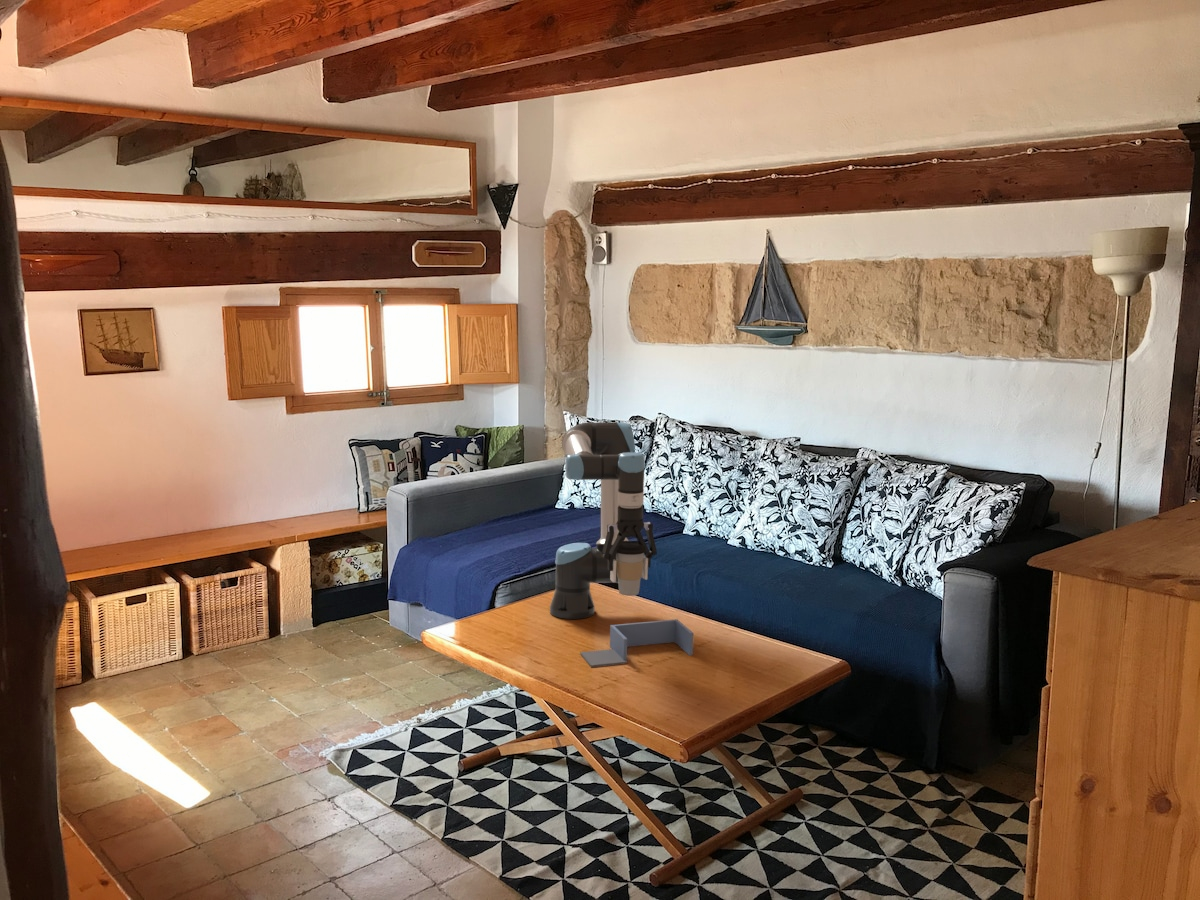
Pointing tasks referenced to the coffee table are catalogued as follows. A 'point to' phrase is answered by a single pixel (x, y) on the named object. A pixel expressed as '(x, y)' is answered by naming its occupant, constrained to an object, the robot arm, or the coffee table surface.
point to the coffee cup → (629, 567)
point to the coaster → (602, 658)
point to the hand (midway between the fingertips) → (628, 579)
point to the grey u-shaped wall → (650, 635)
